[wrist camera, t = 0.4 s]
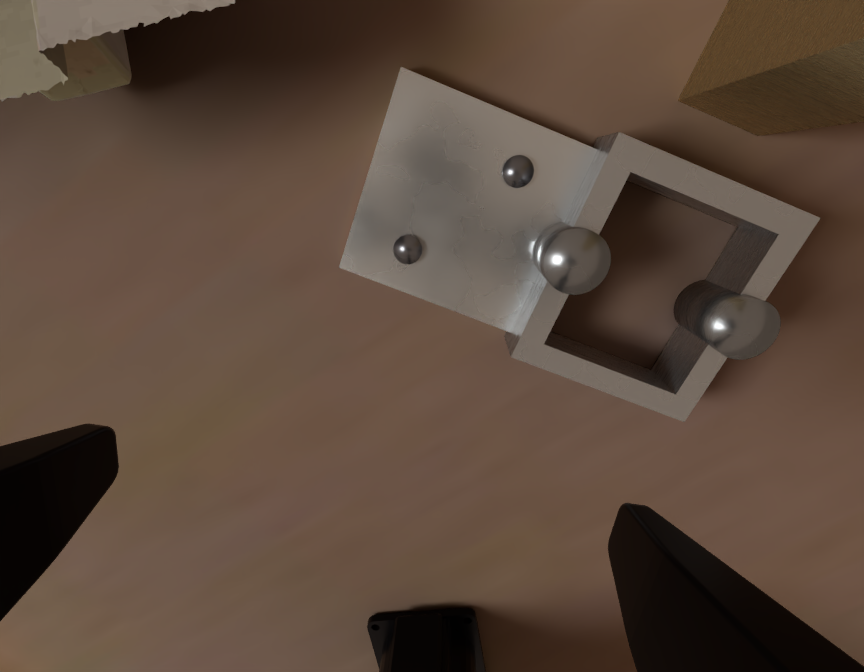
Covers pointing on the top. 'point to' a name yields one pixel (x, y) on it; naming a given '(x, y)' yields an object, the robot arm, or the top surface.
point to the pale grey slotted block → (75, 43)
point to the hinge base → (557, 238)
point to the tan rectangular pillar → (782, 66)
